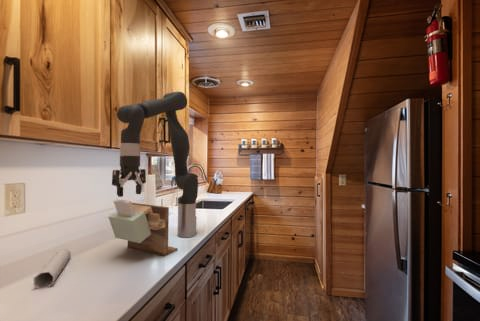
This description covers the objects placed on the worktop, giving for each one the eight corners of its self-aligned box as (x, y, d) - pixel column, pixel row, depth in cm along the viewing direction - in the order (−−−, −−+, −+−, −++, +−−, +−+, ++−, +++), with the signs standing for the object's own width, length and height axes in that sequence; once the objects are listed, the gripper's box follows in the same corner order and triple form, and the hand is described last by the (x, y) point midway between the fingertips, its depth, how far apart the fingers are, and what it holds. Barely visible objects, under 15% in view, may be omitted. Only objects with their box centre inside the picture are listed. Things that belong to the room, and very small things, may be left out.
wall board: (141, 242, 120) (142, 201, 120) (177, 250, 110) (178, 205, 110) (118, 250, 108) (119, 204, 109) (156, 260, 99) (157, 209, 99)
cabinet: (135, 223, 111) (125, 191, 106) (158, 227, 105) (149, 193, 100) (115, 237, 102) (103, 203, 98) (139, 243, 96) (128, 206, 91)
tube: (54, 250, 98) (30, 276, 75) (70, 244, 100) (50, 268, 77) (59, 262, 98) (36, 292, 75) (74, 256, 100) (57, 284, 77)
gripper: (137, 155, 108) (137, 192, 108) (107, 154, 95) (107, 196, 95) (150, 155, 105) (150, 194, 105) (121, 154, 92) (120, 198, 92)
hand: (129, 195), depth 100 cm, fingers open, 8 cm apart
